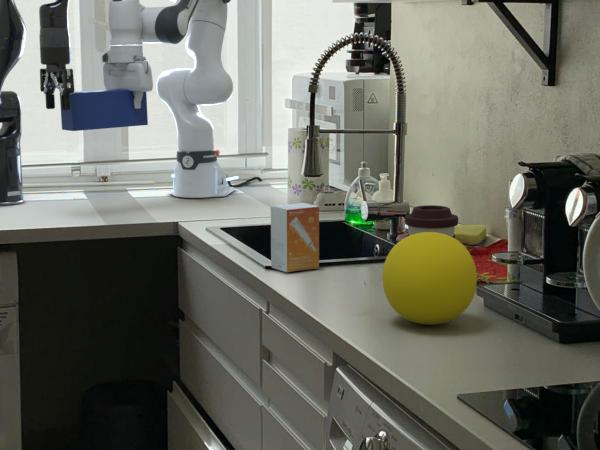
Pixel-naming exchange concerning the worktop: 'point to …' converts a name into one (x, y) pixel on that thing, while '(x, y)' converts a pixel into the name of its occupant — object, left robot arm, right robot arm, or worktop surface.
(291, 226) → the small box
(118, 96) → the box
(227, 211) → the worktop surface
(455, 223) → the coffee cup
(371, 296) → the worktop surface
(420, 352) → the worktop surface
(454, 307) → the toy
